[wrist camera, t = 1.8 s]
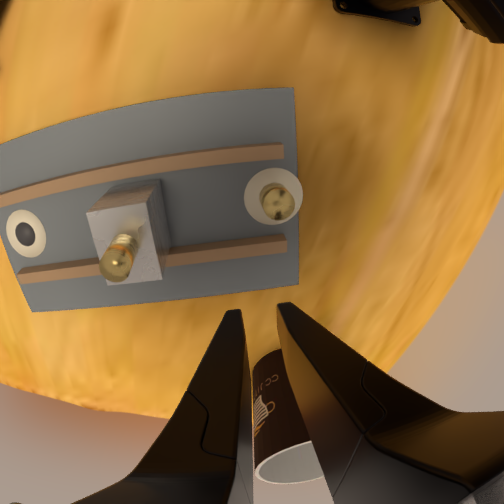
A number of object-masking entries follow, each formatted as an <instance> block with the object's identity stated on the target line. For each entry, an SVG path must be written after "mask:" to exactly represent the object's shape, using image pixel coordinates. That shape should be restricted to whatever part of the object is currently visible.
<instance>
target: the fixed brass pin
mask: <svg viewBox="0 0 504 504" xmlns="http://www.w3.org/2000/svg"><path fill="white" fill-rule="evenodd" d="M259 201H260V204H261V206H262V208H263V210H264V212H265V214H266V215H267V216H268V217H269V218H270V219H272V220H277V221H280V220H284V219H286V218H288V217H289V216H290V215H291V214H292V213H293V211H294V209H295V200H294V198H293V196H292V195H291V193H290V192H289V191H288V190H287V189H286V187H285V186H283V185H282V184H279V183H270V184H268V185H266V186H265V187H263V188H262V190H261V192H260V195H259Z"/></svg>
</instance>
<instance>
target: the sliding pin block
mask: <svg viewBox="0 0 504 504" xmlns="http://www.w3.org/2000/svg"><path fill="white" fill-rule="evenodd" d="M86 214H87V218H88V222H89V226H90V229H91V233H92V237H93V240H94V244H95V247H96V250H97V254H98V257H99V260H100V262H99V270H100V272H101V274H102V275H103V277H104V278H105V279H106V282H107V285H108V286H110V285H119V284H128V283H137V282H146V281H155V280H163V276H164V271H165V266H166V262H167V257H168V253H169V248H170V244H171V238H170V233H169V228H168V223H167V217H166V212H165V206H164V200H163V195H162V189H161V183H160V179H154V180H147V181H141V182H135V183H130V184H124V185H118V186H113V187H111V188H110V189H109V190H108V191H107V192H106V193H105V194H104V195H103V196H102V197H101V198H100V199H99V200H98V201H97V202H96V203H95V204H94V205H93V206H92V207H91V208H90V209H89V210H88V211H87V212H86Z"/></svg>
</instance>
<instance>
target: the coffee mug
mask: <svg viewBox="0 0 504 504" xmlns="http://www.w3.org/2000/svg"><path fill="white" fill-rule="evenodd" d="M253 419H254V458H255V459H254V460H255V461H254V462H255V475H256V477H257V478H258V479H260V480H261V481H264V482H268V483H272V484H295V483H302V482H307V481H312V480H316V479H319V478H322V477H324V474H323V471H322V469H321V466H320V463H319V461H318V458H317V455H316V453H315V450H314V447H313V444H312V442H311V439H310V436H309V434H308V431H307V428H306V425H305V423H304V420H303V417H302V414H301V412H300V409H299V406H298V404H297V401H296V398H295V395H294V393H293V390H292V387H291V384H290V382H289V378H288V375H287V371H286V367H285V363H284V358H283V353H282V349H279V350H276V351H273V352H271V353H269V354H267V355H266V356H264V357H263V358H262V359H261V360H260V361H259V362H258V363H257V364H256V366H255V367H254V370H253Z"/></svg>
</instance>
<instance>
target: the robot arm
mask: <svg viewBox="0 0 504 504" xmlns="http://www.w3.org/2000/svg"><path fill="white" fill-rule="evenodd" d="M435 1H439V0H333V5H334V8H335V10H336V11H337V12H339V13H343V14H351V15H358V16H364V17H371V18H376V19H382V20H387V21H392V22H396V23H401V24H405V25H409V26H418V25H420V23H421V18H420V11H419V6H420V5H424V4H428V3H431V2H435ZM442 1H443V2H444V3H445V4H446V5H447V6H448V7H449V8H450V9H451V10H452V11H453V12H454V13H455V14H456V16H457V17H458V18H459V19H460V22H461V23H462V25H463V26H464V27H465V28H466V29H469V30H472V31H473V32H475V33H477V34H479V35H481V36H484V37H487V38H488V40H489V41H490V42H491V43H496V44H504V0H442ZM340 3H341V4H343V5H344V7H345V8H344V9H343V8H341V7H340ZM412 17H413V18H414V20H415V22H414V21H413V19H412ZM277 329H278V335H279V339H280V344H281V349H282V353H283V358H284V363H285V367H286V371H287V375H288V378H289V382H290V384H291V387H292V390H293V393H294V395H295V398H296V401H297V404H298V406H299V409H300V412H301V414H302V417H303V420H304V423H305V425H306V428H307V431H308V434H309V436H310V439H311V442H312V444H313V447H314V450H315V453H316V455H317V458H318V461H319V463H320V466H321V469H322V471H323V474H324V477H325V479H326V482H327V485H328V487H329V490H330V493H331V496H332V497H333V501H334V504H504V411H496V412H495V411H494V412H457V411H453V410H450V409H447V408H445V407H443V406H441V405H439V404H437V403H435V402H434V401H432V400H430V399H428V398H426V397H425V396H423V395H421V394H419V393H418V392H416V391H414V390H412V389H410V388H409V387H407V386H405V385H404V384H402V383H400V382H398V381H397V380H395V379H394V378H392V377H390V376H389V375H388V374H386V373H385V372H384V371H382V370H381V369H379V368H378V367H376V366H375V365H374V364H372V363H371V362H370V361H367V359H366V358H364V357H363V356H362V355H360V354H359V353H358V352H356V351H355V350H354V349H352V348H351V347H350V346H348V345H347V344H346V343H344V342H343V341H342V340H340V339H339V338H338V337H336V336H335V335H334V334H332V333H331V332H330V331H328V330H327V329H326V328H324V327H323V326H322V325H320V324H319V323H318V322H316V321H315V320H314V319H313V318H311V317H310V316H309V315H307V314H306V313H305V312H303V311H302V310H301V309H299V308H298V307H297V306H295V305H294V304H293V303H291V302H286V303H279V304H277ZM11 504H21V503H11ZM72 504H253V460H252V402H251V377H250V369H249V361H248V352H247V344H246V335H245V329H244V323H243V318H242V312H241V310H240V309H235V310H228V311H226V313H225V315H224V317H223V319H222V321H221V323H220V325H219V327H218V329H217V331H216V333H215V335H214V337H213V339H212V340H211V342H210V344H209V346H208V348H207V350H206V352H205V354H204V356H203V358H202V360H201V362H200V364H199V366H198V368H197V370H196V372H195V374H194V376H193V378H192V380H191V382H190V384H189V386H188V388H187V391H185V393H184V395H183V397H182V399H181V401H180V403H179V405H178V406H177V408H176V410H175V412H174V414H173V415H172V417H171V418H170V420H169V421H168V423H167V424H166V426H165V428H164V429H163V430H162V432H161V433H160V435H159V436H158V438H157V439H156V440H155V442H154V443H153V444H152V446H151V447H150V448H149V450H148V451H147V453H146V454H145V455H144V457H143V458H142V459H141V461H140V462H139V463H138V465H137V466H136V467H135V468H134V470H133V471H132V472H131V473H130V474H128V475H127V476H126V477H125V478H124V479H122V480H120V481H119V482H117V483H115V484H113V485H111V486H109V487H107V488H105V489H102V490H100V491H98V492H96V493H94V494H92V495H90V496H87V497H85V498H83V499H81V500H78V501H76V502H74V503H72Z"/></svg>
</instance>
